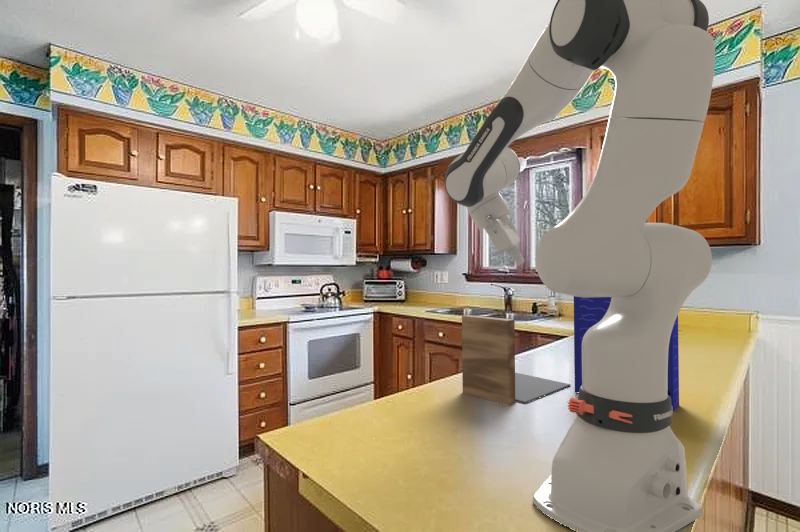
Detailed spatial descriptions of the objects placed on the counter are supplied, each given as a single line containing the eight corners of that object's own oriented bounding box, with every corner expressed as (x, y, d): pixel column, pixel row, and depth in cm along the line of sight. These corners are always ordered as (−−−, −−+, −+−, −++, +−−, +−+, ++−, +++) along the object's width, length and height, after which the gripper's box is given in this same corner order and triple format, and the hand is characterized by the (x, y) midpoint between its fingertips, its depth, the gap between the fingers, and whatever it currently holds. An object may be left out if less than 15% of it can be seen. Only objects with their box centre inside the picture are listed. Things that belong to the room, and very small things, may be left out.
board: (508, 405, 98) (507, 320, 98) (462, 392, 109) (461, 315, 109) (515, 402, 100) (514, 319, 100) (470, 390, 111) (469, 315, 111)
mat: (525, 403, 99) (525, 401, 99) (466, 387, 113) (466, 385, 113) (570, 386, 113) (570, 384, 113) (513, 373, 127) (513, 372, 127)
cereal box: (679, 405, 97) (677, 276, 97) (673, 412, 93) (671, 277, 93) (583, 387, 112) (582, 276, 112) (574, 392, 108) (573, 276, 108)
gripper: (497, 207, 91) (531, 261, 90) (507, 208, 110) (535, 253, 109) (472, 223, 93) (505, 276, 92) (486, 221, 112) (513, 265, 111)
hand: (521, 263), depth 101 cm, fingers closed
